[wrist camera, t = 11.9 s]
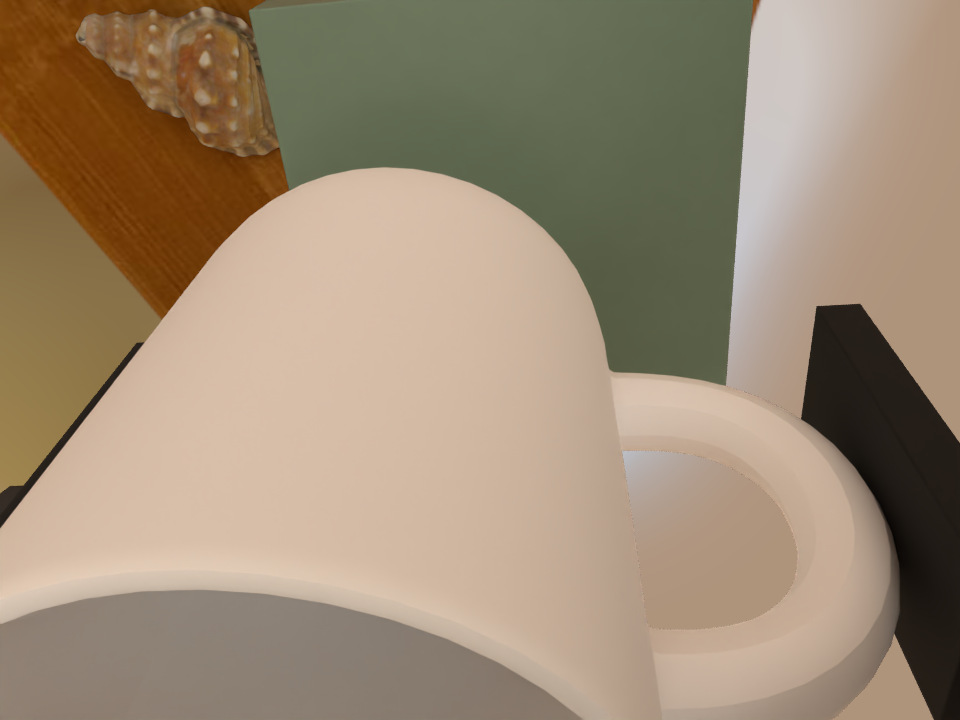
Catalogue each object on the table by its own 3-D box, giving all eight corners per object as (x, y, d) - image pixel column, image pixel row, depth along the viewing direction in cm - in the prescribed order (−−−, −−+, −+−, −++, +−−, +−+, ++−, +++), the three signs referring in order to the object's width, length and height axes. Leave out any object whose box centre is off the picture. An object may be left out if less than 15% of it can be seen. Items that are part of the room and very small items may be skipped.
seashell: (190, 123, 55) (57, 115, 47) (215, -3, 52) (78, -37, 44) (296, 174, 52) (176, 176, 44) (329, 44, 49) (206, 18, 41)
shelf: (626, -106, 44) (756, -41, 19) (627, 150, 52) (721, 446, 26) (405, -82, 45) (247, 10, 20) (437, 165, 53) (350, 463, 27)
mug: (825, 148, 15) (1257, 589, 6) (756, 501, 19) (948, 1057, 10) (167, 155, 15) (-309, 559, 7) (245, 494, 20) (19, 1009, 11)
